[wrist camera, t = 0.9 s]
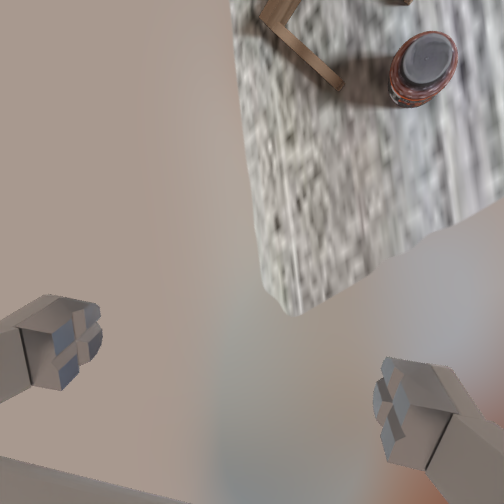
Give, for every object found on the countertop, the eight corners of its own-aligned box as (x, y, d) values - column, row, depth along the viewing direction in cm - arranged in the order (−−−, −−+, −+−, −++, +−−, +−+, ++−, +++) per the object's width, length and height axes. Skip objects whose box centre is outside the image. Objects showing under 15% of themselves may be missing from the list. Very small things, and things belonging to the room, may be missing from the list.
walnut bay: (417, -6, 34) (422, -28, 30) (338, 91, 40) (333, 85, 36) (337, -75, 35) (331, -107, 31) (271, 30, 41) (258, 17, 37)
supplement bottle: (392, 116, 39) (395, 105, 29) (383, 67, 38) (383, 38, 28) (446, 98, 36) (469, 80, 26) (439, 45, 35) (460, 5, 25)
